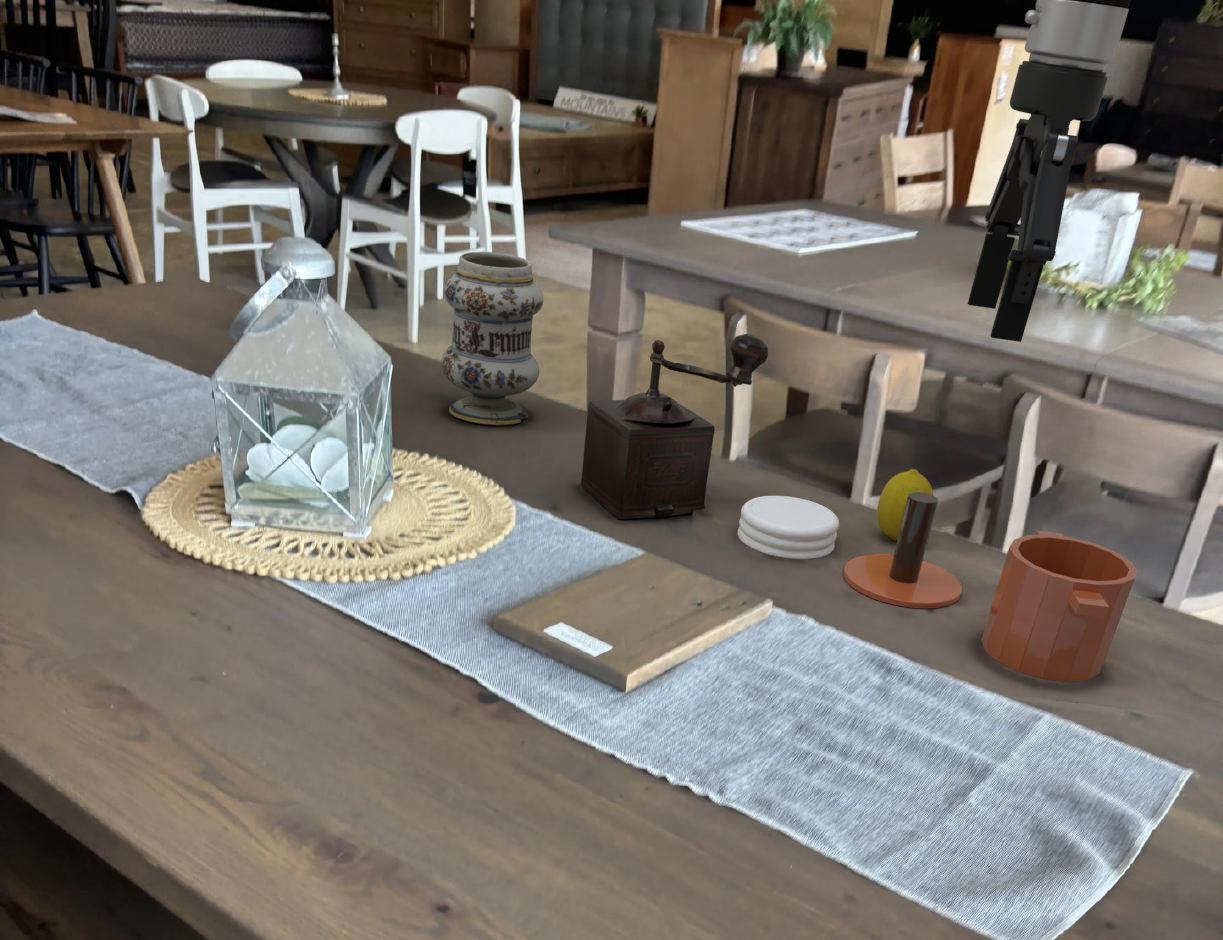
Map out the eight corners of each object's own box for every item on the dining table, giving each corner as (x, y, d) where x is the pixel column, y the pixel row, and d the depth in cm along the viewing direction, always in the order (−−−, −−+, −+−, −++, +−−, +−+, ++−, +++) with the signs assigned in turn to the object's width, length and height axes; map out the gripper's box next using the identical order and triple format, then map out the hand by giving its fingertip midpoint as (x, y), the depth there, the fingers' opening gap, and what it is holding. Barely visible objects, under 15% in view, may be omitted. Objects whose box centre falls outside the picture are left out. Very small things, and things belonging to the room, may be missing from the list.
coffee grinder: (620, 523, 124) (639, 341, 113) (578, 485, 132) (592, 313, 121) (749, 513, 130) (778, 339, 120) (701, 477, 138) (724, 312, 128)
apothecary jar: (520, 435, 144) (528, 274, 134) (426, 418, 146) (427, 259, 136) (548, 409, 154) (557, 257, 144) (459, 394, 156) (462, 243, 145)
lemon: (923, 539, 128) (942, 466, 124) (920, 558, 124) (940, 482, 119) (872, 530, 129) (889, 456, 124) (867, 547, 125) (884, 472, 120)
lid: (949, 572, 121) (973, 484, 116) (968, 621, 112) (995, 527, 107) (837, 559, 121) (856, 470, 116) (847, 606, 112) (868, 511, 107)
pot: (1076, 627, 113) (1109, 531, 108) (1122, 708, 100) (1162, 604, 95) (966, 613, 113) (994, 517, 108) (998, 693, 100) (1031, 588, 95)
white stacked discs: (851, 549, 124) (858, 516, 122) (797, 572, 117) (803, 538, 115) (773, 518, 129) (779, 487, 127) (717, 539, 123) (722, 506, 120)
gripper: (997, 50, 113) (936, 289, 125) (1053, 65, 93) (974, 348, 105) (1075, 61, 113) (1008, 299, 125) (1149, 78, 93) (1059, 360, 105)
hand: (992, 322), depth 115 cm, fingers open, 13 cm apart
